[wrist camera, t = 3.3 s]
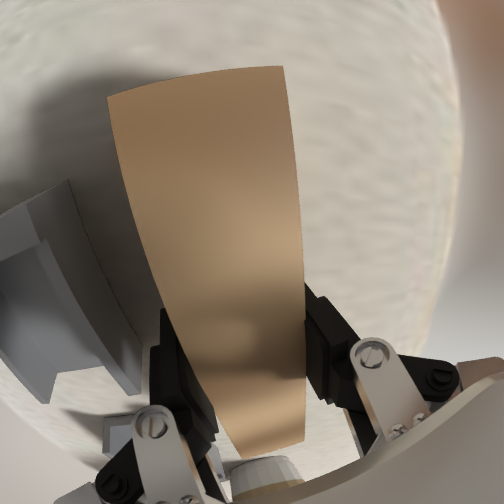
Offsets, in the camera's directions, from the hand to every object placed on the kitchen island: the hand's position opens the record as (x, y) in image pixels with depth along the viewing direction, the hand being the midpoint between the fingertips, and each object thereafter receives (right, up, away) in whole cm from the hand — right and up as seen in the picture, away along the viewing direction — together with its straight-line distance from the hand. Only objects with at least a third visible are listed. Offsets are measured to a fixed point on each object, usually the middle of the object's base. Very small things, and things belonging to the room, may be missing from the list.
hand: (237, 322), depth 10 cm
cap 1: (-9, +1, 0) cm, 9 cm away
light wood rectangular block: (-1, +1, +2) cm, 3 cm away
